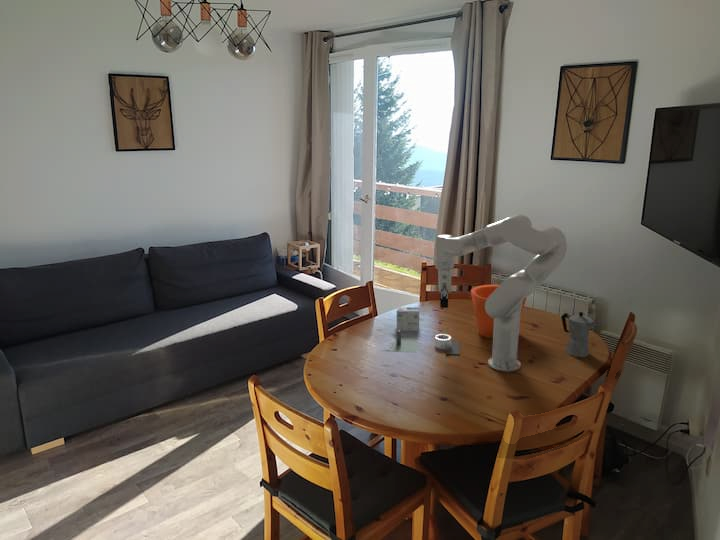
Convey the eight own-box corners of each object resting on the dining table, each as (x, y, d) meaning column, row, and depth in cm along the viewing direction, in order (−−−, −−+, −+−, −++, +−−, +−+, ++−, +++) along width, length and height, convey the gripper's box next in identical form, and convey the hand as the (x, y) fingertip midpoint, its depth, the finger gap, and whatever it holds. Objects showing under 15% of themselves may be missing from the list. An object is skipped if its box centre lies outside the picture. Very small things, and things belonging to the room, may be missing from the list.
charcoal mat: (459, 355, 215) (459, 354, 215) (426, 353, 217) (426, 352, 217) (458, 342, 229) (458, 341, 229) (426, 341, 231) (426, 340, 231)
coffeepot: (598, 355, 212) (603, 314, 208) (585, 361, 207) (589, 318, 203) (566, 343, 225) (569, 304, 220) (552, 348, 220) (555, 308, 215)
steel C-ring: (451, 350, 219) (451, 340, 218) (434, 349, 220) (434, 339, 219) (450, 344, 226) (450, 334, 225) (434, 343, 227) (434, 333, 226)
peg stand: (416, 354, 217) (416, 338, 215) (378, 352, 219) (378, 337, 217) (417, 340, 232) (417, 325, 230) (382, 338, 234) (382, 324, 233)
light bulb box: (419, 327, 247) (419, 306, 244) (419, 333, 241) (419, 311, 238) (396, 327, 248) (396, 306, 246) (396, 332, 242) (396, 310, 239)
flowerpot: (531, 343, 226) (534, 300, 221) (474, 343, 227) (476, 301, 222) (516, 323, 250) (518, 284, 246) (464, 324, 251) (466, 285, 246)
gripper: (454, 269, 205) (453, 310, 209) (453, 260, 222) (452, 298, 226) (435, 269, 206) (434, 310, 210) (435, 259, 223) (434, 297, 227)
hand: (443, 303), depth 218 cm, fingers open, 9 cm apart
